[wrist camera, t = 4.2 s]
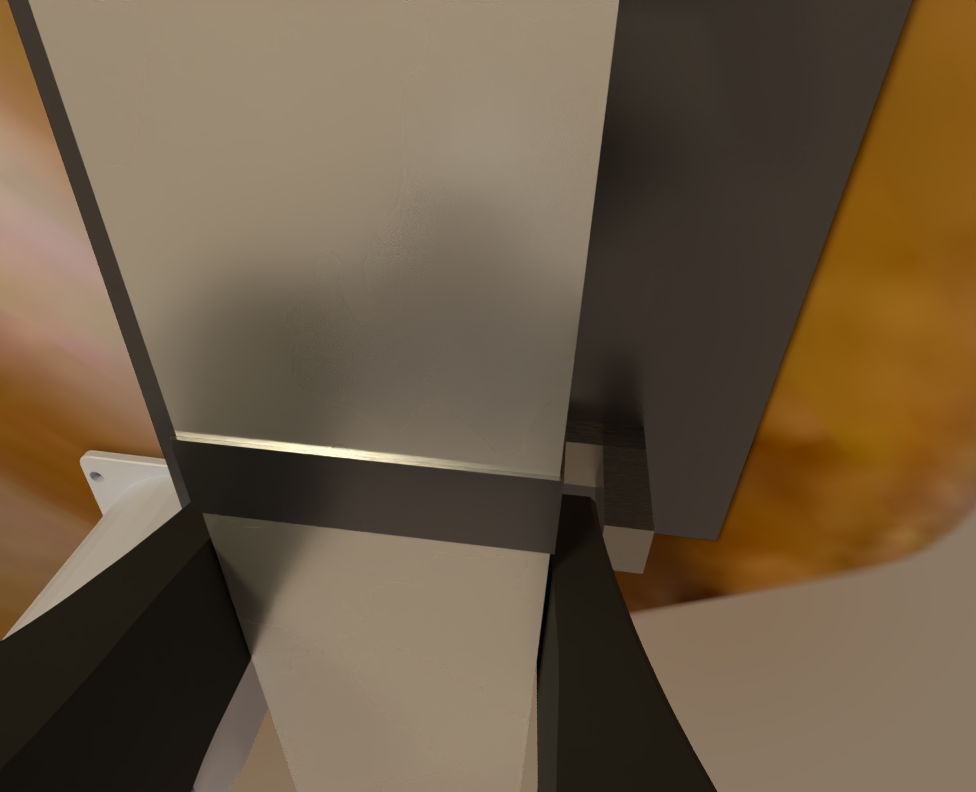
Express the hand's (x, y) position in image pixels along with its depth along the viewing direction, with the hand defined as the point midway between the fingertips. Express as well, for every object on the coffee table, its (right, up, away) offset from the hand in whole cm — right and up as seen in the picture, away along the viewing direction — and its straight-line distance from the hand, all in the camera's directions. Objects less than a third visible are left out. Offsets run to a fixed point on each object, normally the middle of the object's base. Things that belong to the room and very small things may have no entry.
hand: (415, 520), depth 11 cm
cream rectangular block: (0, +2, +2) cm, 2 cm away
